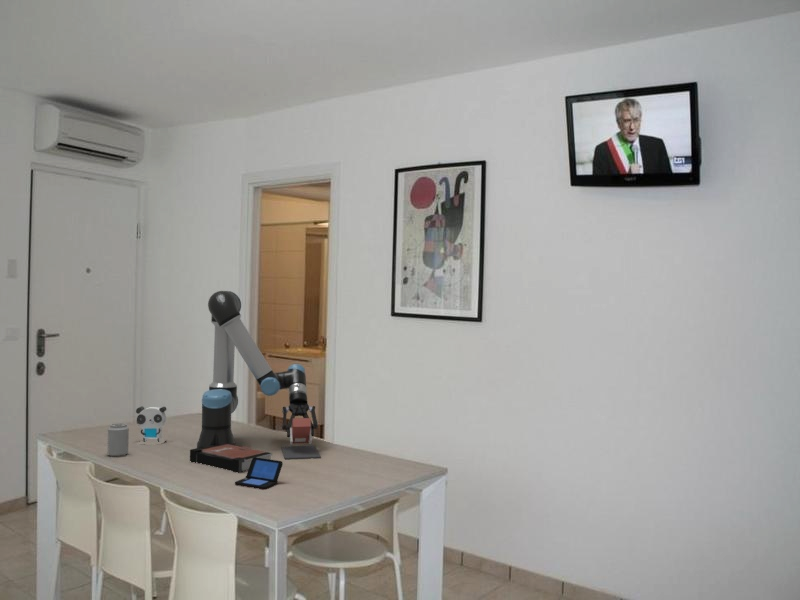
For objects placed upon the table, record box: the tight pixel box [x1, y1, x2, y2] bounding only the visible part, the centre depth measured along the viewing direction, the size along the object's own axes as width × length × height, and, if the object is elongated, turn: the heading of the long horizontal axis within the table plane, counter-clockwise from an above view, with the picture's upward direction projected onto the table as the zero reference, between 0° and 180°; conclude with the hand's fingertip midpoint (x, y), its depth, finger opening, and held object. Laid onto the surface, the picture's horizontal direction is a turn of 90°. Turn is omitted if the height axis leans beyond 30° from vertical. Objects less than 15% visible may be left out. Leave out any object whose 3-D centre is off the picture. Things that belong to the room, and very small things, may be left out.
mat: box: [280, 445, 322, 460], centre depth 272 cm, size 20×14×1 cm
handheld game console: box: [234, 457, 283, 490], centre depth 227 cm, size 12×11×7 cm
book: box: [189, 444, 273, 474], centre depth 254 cm, size 26×18×5 cm
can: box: [107, 422, 130, 457], centre depth 263 cm, size 8×8×12 cm
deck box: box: [291, 417, 312, 445], centre depth 274 cm, size 4×7×12 cm
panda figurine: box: [135, 406, 167, 442], centre depth 286 cm, size 12×11×15 cm
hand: (301, 442), depth 271 cm, fingers closed on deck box, 7 cm apart
